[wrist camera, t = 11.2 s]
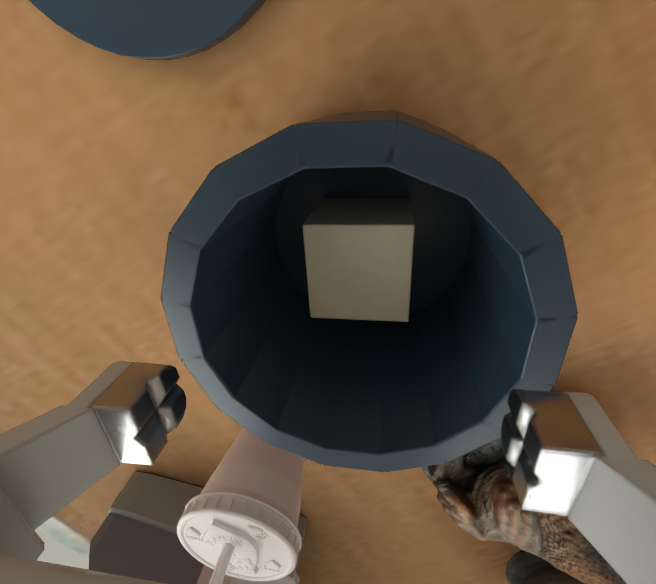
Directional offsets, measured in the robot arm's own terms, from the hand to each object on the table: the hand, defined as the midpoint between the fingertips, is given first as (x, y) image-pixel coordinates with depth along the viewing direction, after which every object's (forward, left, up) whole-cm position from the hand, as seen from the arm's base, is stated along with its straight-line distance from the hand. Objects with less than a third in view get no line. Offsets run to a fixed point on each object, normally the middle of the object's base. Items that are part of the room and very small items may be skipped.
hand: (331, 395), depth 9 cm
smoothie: (-6, -13, -12) cm, 19 cm away
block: (0, 0, -11) cm, 11 cm away
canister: (0, 0, -12) cm, 12 cm away
